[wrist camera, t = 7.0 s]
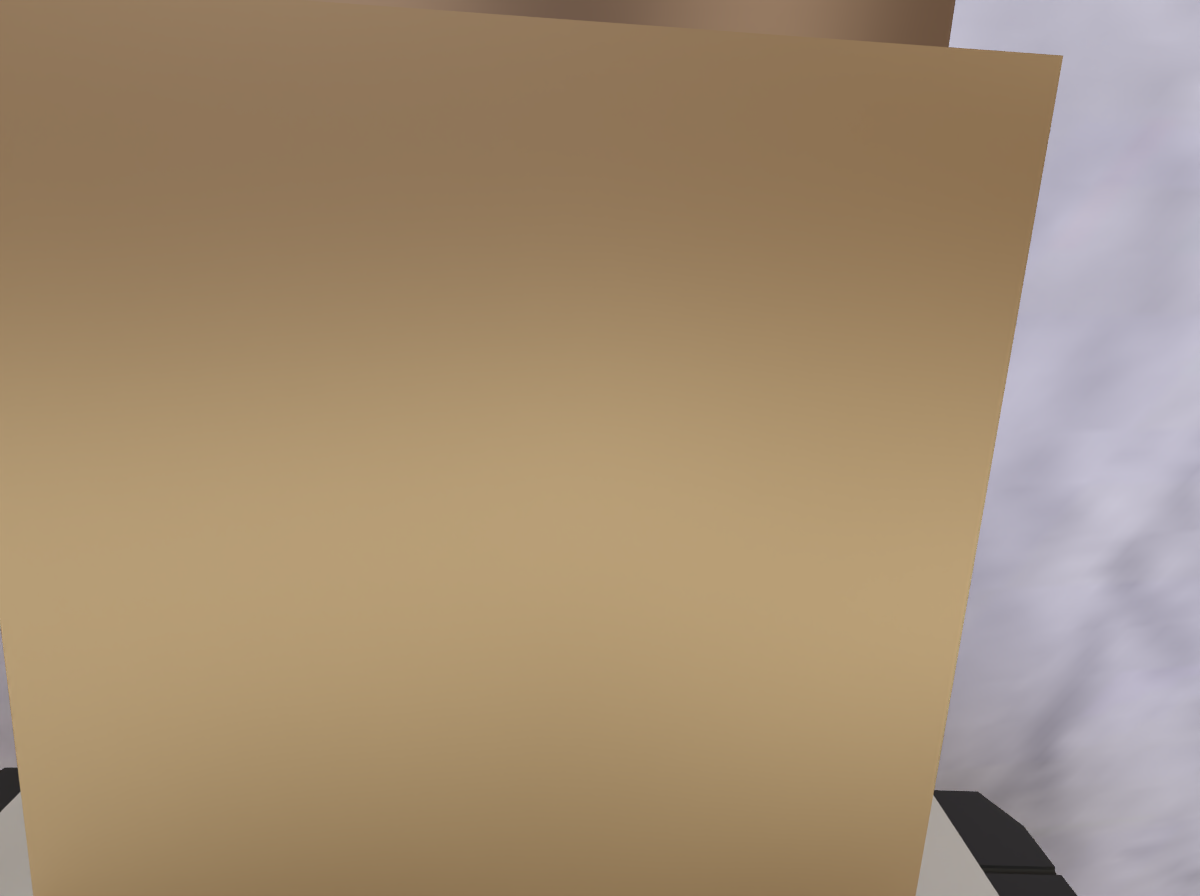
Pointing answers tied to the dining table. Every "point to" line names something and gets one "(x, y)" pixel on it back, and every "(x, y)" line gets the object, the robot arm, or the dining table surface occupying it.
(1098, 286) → the dining table surface
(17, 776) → the robot arm
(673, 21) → the peg frame
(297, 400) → the plank
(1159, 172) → the dining table surface
